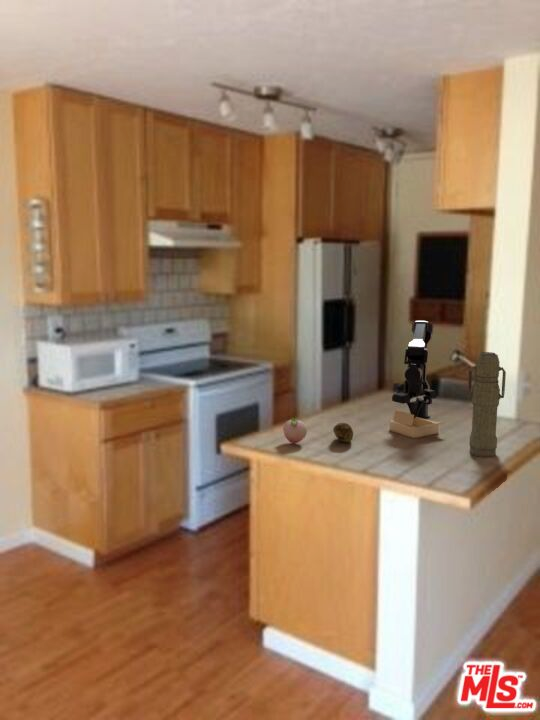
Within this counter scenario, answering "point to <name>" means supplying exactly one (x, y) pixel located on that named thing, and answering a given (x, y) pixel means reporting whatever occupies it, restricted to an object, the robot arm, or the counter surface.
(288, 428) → the decorative fruit
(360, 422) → the counter surface
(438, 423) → the left flap
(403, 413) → the far flap
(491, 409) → the thermos
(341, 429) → the potato
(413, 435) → the carton
